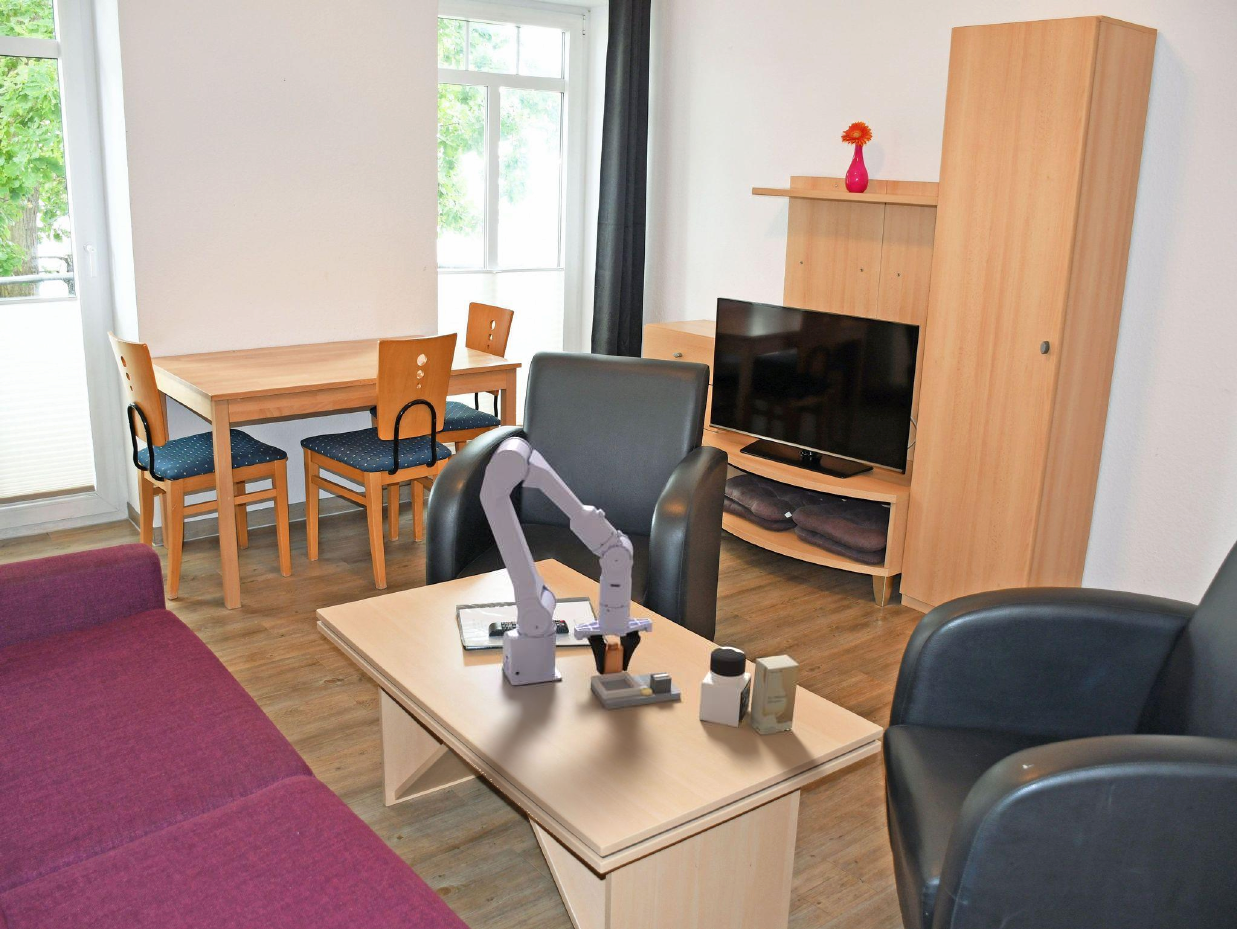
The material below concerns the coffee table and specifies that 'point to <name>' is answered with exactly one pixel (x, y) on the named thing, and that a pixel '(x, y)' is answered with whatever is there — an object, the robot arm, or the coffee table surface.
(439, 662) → the coffee table surface
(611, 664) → the orange bottle
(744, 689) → the medicine bottle
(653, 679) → the block
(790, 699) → the skincare box
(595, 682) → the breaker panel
